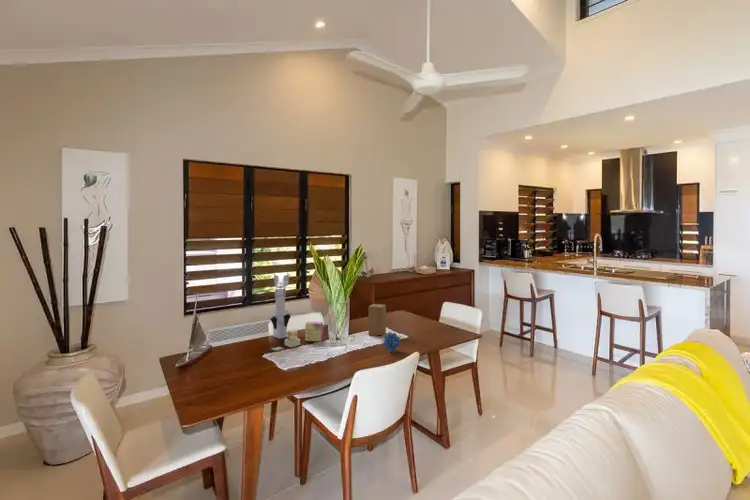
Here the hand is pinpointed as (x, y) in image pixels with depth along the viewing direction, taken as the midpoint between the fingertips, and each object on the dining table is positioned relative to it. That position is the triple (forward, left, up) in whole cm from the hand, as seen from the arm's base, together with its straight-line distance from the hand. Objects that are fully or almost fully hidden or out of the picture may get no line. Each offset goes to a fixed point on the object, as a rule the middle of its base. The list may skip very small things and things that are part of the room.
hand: (280, 327), depth 240 cm
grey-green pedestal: (+9, +3, -10) cm, 14 cm away
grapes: (+63, +37, -10) cm, 74 cm away
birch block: (+9, +3, -6) cm, 11 cm away
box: (+10, +19, -10) cm, 24 cm away
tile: (+10, -8, -10) cm, 16 cm away
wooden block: (+29, +59, -10) cm, 67 cm away
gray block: (-1, +10, -10) cm, 14 cm away
